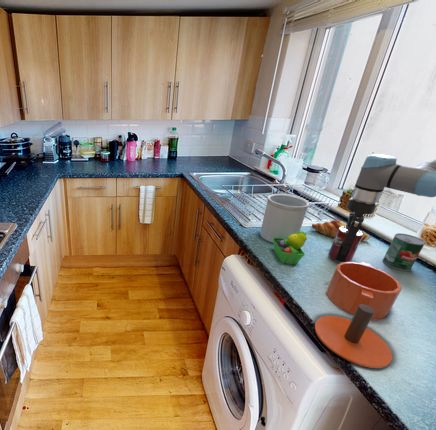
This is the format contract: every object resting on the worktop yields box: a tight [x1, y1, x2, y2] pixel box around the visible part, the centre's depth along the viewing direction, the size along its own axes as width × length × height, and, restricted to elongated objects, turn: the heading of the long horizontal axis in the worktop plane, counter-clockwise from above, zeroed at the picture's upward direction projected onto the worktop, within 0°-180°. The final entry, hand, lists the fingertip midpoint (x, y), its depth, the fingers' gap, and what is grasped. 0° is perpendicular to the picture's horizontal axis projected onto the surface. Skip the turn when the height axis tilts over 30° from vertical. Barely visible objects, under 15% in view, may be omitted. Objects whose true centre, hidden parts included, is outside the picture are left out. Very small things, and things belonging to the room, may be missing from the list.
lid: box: [313, 304, 393, 369], centre depth 71 cm, size 16×16×11 cm
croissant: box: [311, 219, 372, 241], centre depth 124 cm, size 21×10×8 cm, turn 65°
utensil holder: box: [259, 193, 310, 244], centre depth 119 cm, size 15×15×18 cm
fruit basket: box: [273, 230, 308, 265], centre depth 106 cm, size 11×9×11 cm
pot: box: [326, 261, 402, 321], centre depth 85 cm, size 15×20×10 cm
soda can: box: [327, 227, 363, 264], centre depth 106 cm, size 7×7×12 cm
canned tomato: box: [382, 232, 426, 272], centre depth 103 cm, size 8×8×11 cm
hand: (340, 256), depth 108 cm, fingers closed on soda can, 7 cm apart
